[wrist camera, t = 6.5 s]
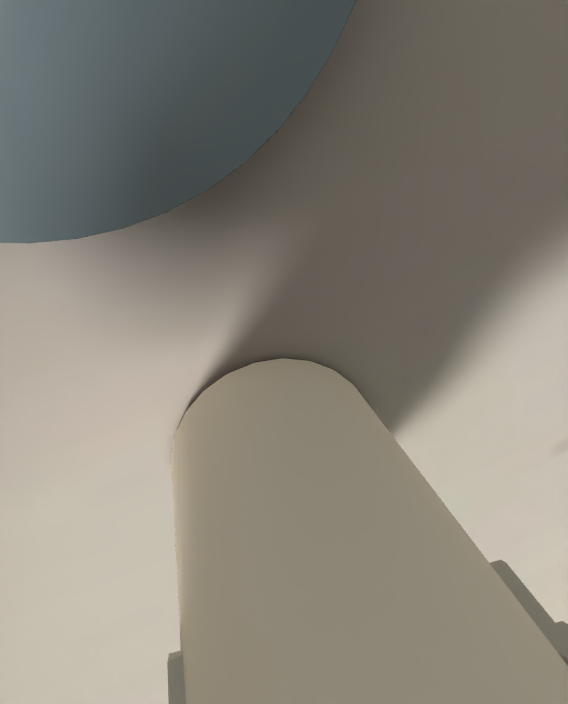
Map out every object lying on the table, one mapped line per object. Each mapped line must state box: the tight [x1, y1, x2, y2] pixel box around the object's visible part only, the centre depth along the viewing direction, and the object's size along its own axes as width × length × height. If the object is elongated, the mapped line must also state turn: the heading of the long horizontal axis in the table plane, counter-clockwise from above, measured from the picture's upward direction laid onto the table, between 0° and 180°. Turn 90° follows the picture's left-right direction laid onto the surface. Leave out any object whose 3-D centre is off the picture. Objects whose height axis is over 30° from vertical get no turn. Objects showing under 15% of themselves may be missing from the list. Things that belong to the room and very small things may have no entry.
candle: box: [171, 358, 568, 704], centre depth 10 cm, size 6×6×15 cm
